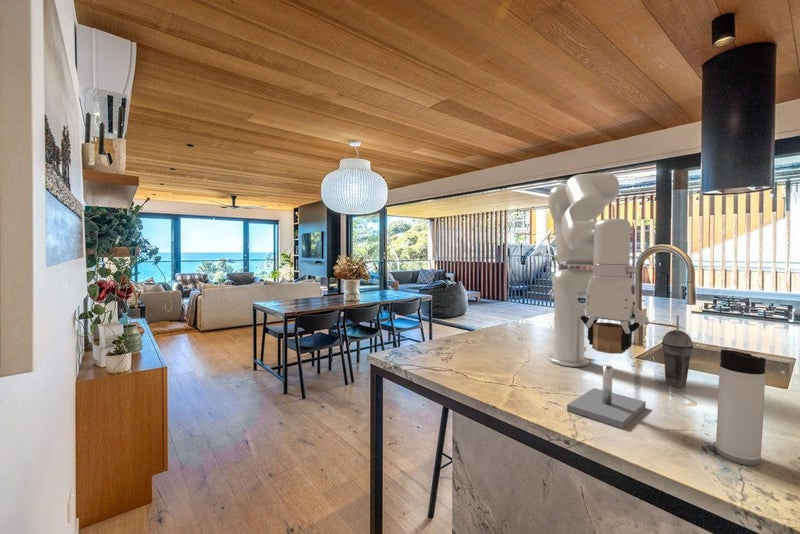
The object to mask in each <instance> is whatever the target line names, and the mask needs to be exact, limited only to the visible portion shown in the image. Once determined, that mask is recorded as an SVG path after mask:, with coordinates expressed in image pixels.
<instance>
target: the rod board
mask: <svg viewBox="0 0 800 534" xmlns="http://www.w3.org/2000/svg"><path fill="white" fill-rule="evenodd" d="M646 404H647V403H646V401H645V400H641V399H637V398H633V397H629V396H625V395H622V394H619V393H615V392H612V404H611V405H606V404H603V403H602V389H600V388H596V387H593V388H591V389H590V390H589V391H586V392H585V393H584V394H582V395H581V396H578V397H577V398H576V399H574V400H572V401H571V402H569V403H567V405H566V410H567V412H569V411H571V412H570V413H572V412H573V414H575V413H577V414H576V415H578V414H579V415H578V416H582V415H583V416H582V417H585V416H586V418H588V419H591V420H595V421H597V422H600V423H603V422H604V423H603V424H606V423H607V424H606V425H609V424H610V425H609V426H613V427H616V428H619V429H622V430H623V429H624V428H626V426H627V425H629V424H630V423H631V422H632V421H633V420H634V419H635V418H637V416H639V414H640V413H641V412H643V411H644V410H645V409H646V408H645V407H646ZM644 408H645V409H644ZM643 409H644V410H643ZM632 419H633V420H632Z"/></svg>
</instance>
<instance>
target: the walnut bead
mask: <svg viewBox="0 0 800 534" xmlns="http://www.w3.org/2000/svg"><path fill="white" fill-rule="evenodd" d="M622 333H624V330H623V327H622V325H621V323H615V322H603V321H602V322H601V321H600V322H599V321H597V323H594V324H593V344H592V345H591V346H592V347H591V348H592V349H593V350H594V351H596V352H599V353H604V354H610V355H611V354H613V355H615V354H616V355H617V354H618V355H619V354H623V353H626V351H623V350H622V349H621V340H622Z"/></svg>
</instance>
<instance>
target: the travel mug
mask: <svg viewBox="0 0 800 534" xmlns="http://www.w3.org/2000/svg"><path fill="white" fill-rule="evenodd" d="M766 361H767V359H766V358H765V357H758V356H755V355H752V354H751V353H746V352H742V351H738V350H737V351H736V350H731V349H729V350H728V349H721V350H720V362H719V371H718V372H719V375H718V395H717V412H716V413H717V416H716V417H717V418H716V436H715V437H716V438H715V451H716V453H717V454H718V455H719V456H720V457H722V458H724V459H726V460H728V461H729V462H733V463H736V464H740V465H744V466H749V467H750V466H751V467H752V466H753V467H754V466H758V465H760V464H761V461H762V449H763V448H762V446H763V427H764V425H763V424H764V412H765V411H764V408H765V406H764V405H765V393H766V392H765V389H766V373H767V372H766V365H767V364H766V363H767V362H766Z"/></svg>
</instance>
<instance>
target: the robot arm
mask: <svg viewBox="0 0 800 534" xmlns="http://www.w3.org/2000/svg"><path fill="white" fill-rule="evenodd" d="M619 193H620V182H619V180H618V178H617V176H616V175H614V174H613V173H610V172H602V173H599V172H598V173H582V174H581V173H580V174H576V175H573V176H572V177H570V178H569V179H568V180H567V182H566V184H564V185H563V184H562V185H559V186H555V187H553V188H552V189H550V191H549V194H548V208H549V213H550V215H551V218H552V221H553V224H554V228H555V253H556V254H555V256H556V261H557V262H558V264H560V265H561V266H562V265H563V266H569V267H571V266H572V267H573V266H576V267H578V266H579V267H580V266H583V267H585V266H586V267H590V269H588V268H585V269H582V268H566V269H565V268H564V269H559V270H558V271H556V272H554V274H553V276H552V282H551V283H552V290H553V302H554V314H553V315H554V316H553V317H554V319H553V320H554V321H553V322H554V323H553V328H554V330H553V334H554V335H553V353H551V354H549V355H548V360H549V361H550V362H552V363H554V364H557V365H559V366H564V367H574V368H578V367H585V366H588V365H590V360H589V359H588V358H587V356H585V352H587V348H586V346H585V341H586V340H585V337H586V335H585V334H586V333H585V332H586V330H585V329H586V328H587V340H588V343H589V345H591V346H592V344H593V324H594V323H597V322H599V320H600V319H601V320H608V321H617V322H619V324H621V325H622V327H623V330H624V333H622V340H621V349H622V350H623V351H625V352H627V350H629V349H630V348H631V347H632V343H633V342H632V341H633V340H632V337H633V332H634V331H636V330H638V329H639V328H640V327H641V326H643V325H644V324H645V323H646V322H648V321H649V317H648V316H647V315H646V314H645V313H643V311H642V310H641V309H639V307H637V306H638V305H637V294H636V286H635V285H636V284H635V279H634V278H633V277H630V276H631V275H632V274H637V267H633V266H632V265H631V263H630V256H631V232H632V231H631V230H632V229H631V228H632V227H631V222H630V221H629V220H627V219H625V218H623V219H622V218H607V219H599V220H594V219H597V218H598V217H599V216H600V215H602V213H604V211H605V208H606V207H607V206H608V205H610V204H611V203H612V202H614V201H615V200H616V199H617V197H618V196H619ZM582 298H583V299H584V298H585V302H584V303H582V304H581V303H580V301H578V299H582ZM636 318H637V320H636V321H635V322H634V323H632V322H631V320H634V319H636Z"/></svg>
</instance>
